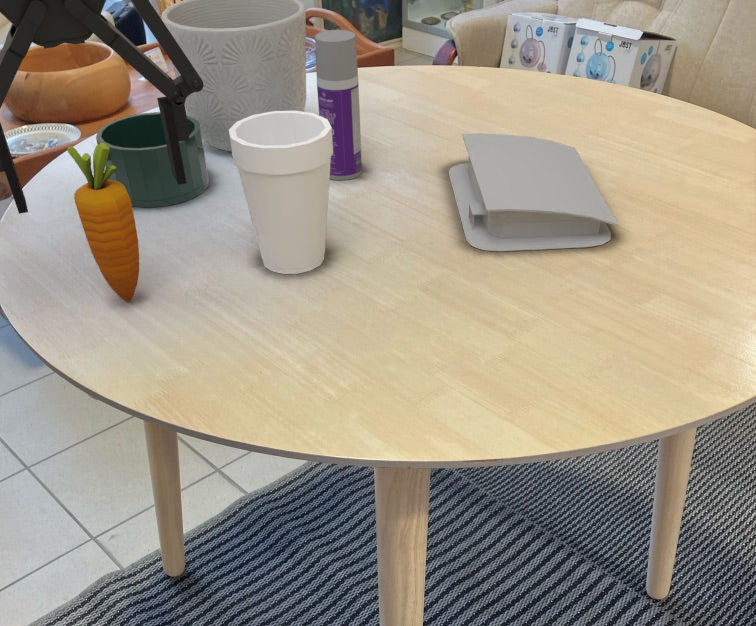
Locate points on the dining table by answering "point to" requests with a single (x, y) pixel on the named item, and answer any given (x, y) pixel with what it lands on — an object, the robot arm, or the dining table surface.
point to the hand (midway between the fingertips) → (102, 192)
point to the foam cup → (286, 185)
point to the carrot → (108, 222)
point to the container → (340, 99)
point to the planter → (240, 59)
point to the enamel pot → (153, 160)
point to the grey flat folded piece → (527, 195)
